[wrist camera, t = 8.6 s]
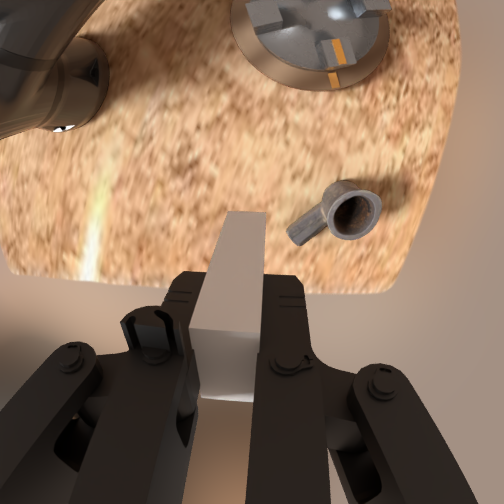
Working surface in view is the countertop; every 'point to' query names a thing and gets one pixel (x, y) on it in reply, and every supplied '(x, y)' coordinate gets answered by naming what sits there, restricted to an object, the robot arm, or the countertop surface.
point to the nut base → (298, 76)
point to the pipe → (339, 214)
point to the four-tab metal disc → (317, 30)
